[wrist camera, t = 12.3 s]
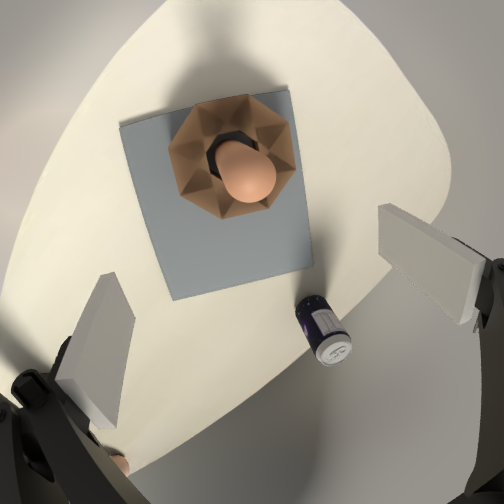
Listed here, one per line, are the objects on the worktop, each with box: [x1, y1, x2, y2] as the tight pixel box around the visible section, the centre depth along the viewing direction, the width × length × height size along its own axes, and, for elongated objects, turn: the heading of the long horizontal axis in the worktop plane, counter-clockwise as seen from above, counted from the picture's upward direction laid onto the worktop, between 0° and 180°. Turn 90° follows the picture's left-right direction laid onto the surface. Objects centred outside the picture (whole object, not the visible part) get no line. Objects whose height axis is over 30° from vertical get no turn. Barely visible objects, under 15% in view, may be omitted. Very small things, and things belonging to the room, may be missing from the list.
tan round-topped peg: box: [213, 139, 276, 203], centre depth 29 cm, size 4×4×16 cm
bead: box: [168, 94, 296, 220], centre depth 34 cm, size 14×14×4 cm
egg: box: [111, 455, 130, 477], centre depth 59 cm, size 7×7×9 cm
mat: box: [119, 90, 313, 301], centre depth 39 cm, size 22×26×1 cm
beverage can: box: [295, 295, 352, 366], centre depth 44 cm, size 6×6×12 cm
